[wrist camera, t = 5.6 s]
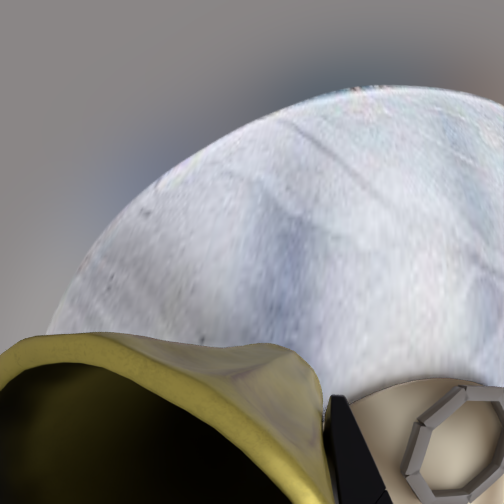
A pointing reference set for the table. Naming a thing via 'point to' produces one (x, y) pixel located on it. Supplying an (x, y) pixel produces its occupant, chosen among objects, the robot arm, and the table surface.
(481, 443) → the disc
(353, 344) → the table surface
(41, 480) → the vase
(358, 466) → the robot arm
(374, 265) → the table surface
